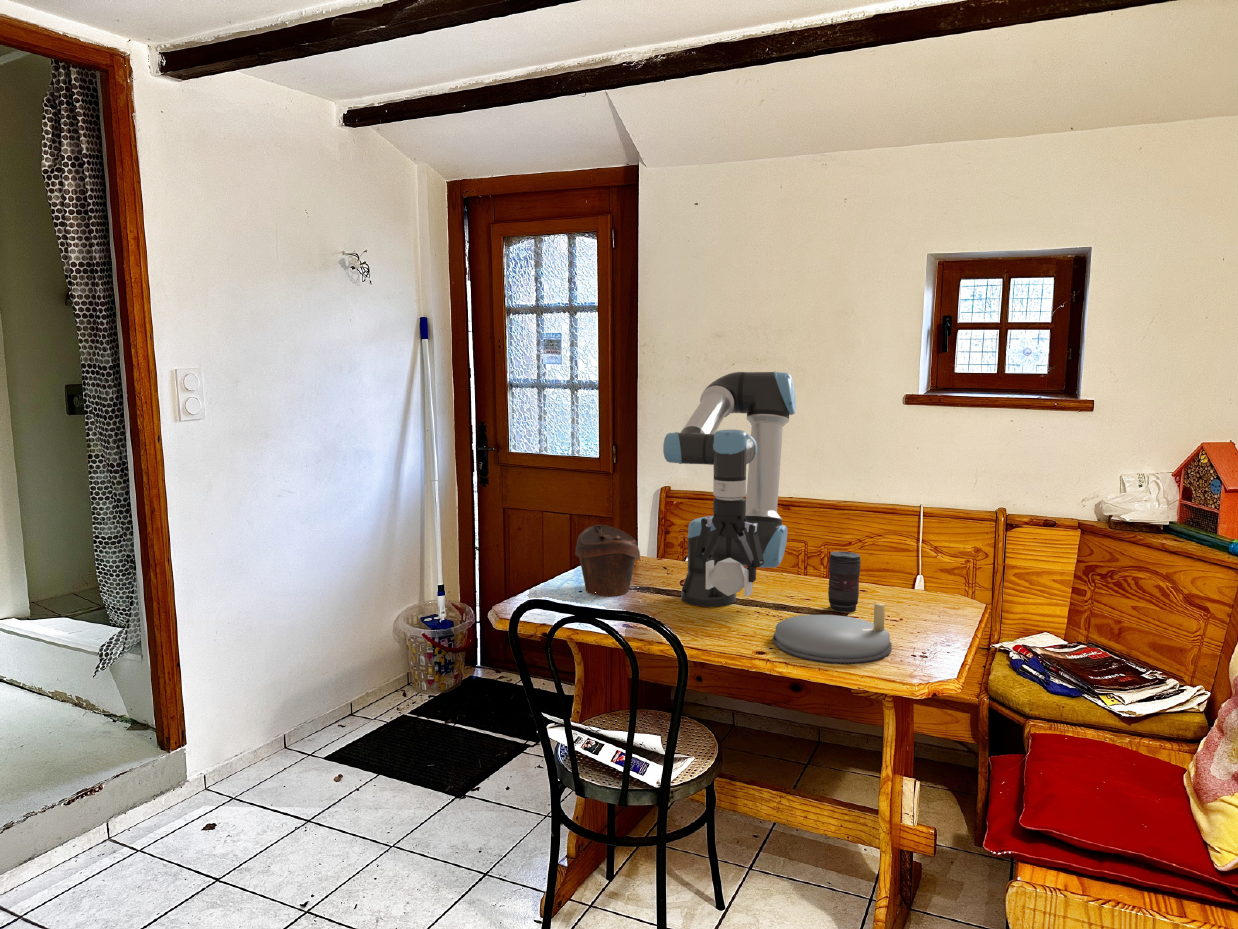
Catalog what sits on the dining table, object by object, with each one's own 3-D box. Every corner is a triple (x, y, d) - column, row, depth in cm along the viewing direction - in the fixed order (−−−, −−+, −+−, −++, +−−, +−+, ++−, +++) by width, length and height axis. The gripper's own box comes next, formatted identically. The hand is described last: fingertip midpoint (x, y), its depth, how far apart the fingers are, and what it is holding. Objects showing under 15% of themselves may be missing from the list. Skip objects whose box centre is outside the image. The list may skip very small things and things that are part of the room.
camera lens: (860, 614, 224) (861, 558, 222) (828, 612, 226) (829, 556, 224) (857, 605, 232) (859, 551, 230) (827, 603, 233) (828, 550, 232)
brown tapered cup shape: (621, 604, 234) (621, 539, 231) (562, 593, 244) (561, 532, 242) (653, 588, 249) (653, 528, 246) (596, 579, 259) (595, 521, 257)
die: (725, 587, 206) (703, 559, 203) (756, 573, 202) (734, 544, 199) (723, 609, 199) (700, 579, 196) (755, 595, 195) (732, 565, 192)
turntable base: (753, 648, 197) (753, 644, 197) (800, 619, 219) (800, 615, 219) (868, 673, 182) (868, 668, 182) (906, 639, 204) (906, 635, 204)
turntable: (795, 661, 186) (796, 625, 185) (762, 624, 212) (762, 593, 211) (909, 656, 189) (910, 621, 188) (862, 620, 215) (863, 589, 214)
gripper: (680, 495, 200) (680, 587, 203) (766, 504, 187) (764, 603, 190) (696, 490, 206) (695, 580, 209) (780, 499, 193) (779, 595, 196)
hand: (728, 591), depth 200 cm, fingers closed on die, 9 cm apart
